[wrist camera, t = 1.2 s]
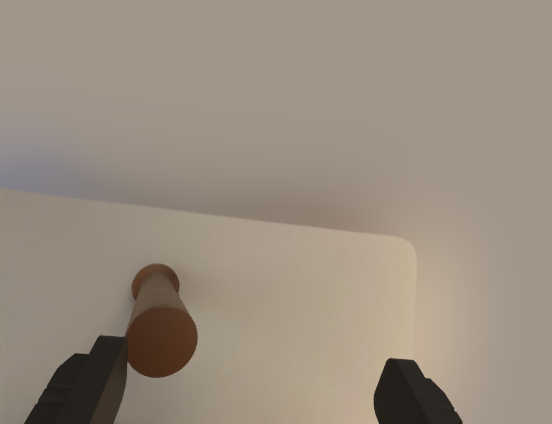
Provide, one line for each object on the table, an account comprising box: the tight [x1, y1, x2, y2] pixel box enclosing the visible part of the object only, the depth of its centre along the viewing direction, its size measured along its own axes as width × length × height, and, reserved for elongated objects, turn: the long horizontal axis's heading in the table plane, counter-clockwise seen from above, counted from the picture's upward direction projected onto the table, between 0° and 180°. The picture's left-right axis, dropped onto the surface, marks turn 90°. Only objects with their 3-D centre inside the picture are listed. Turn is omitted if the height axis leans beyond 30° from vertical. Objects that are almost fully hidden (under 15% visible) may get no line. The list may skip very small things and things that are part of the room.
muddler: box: [125, 264, 198, 378], centre depth 24 cm, size 4×4×22 cm
